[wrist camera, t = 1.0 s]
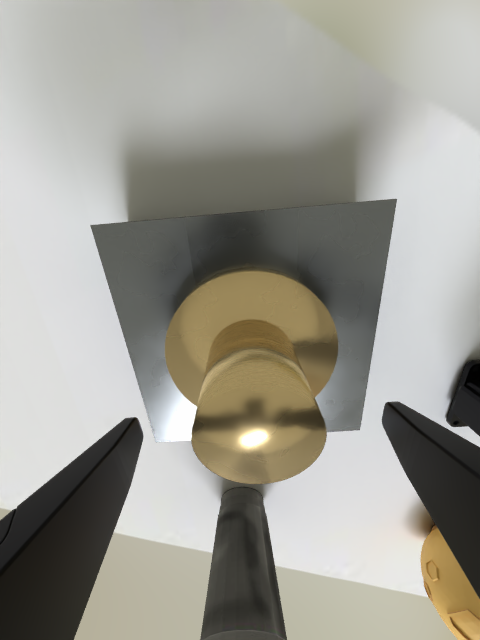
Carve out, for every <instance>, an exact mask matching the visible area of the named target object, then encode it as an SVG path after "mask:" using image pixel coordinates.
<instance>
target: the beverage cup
mask: <svg viewBox="0 0 480 640" xmlns="http://www.w3.org/2000/svg"><path fill="white" fill-rule="evenodd" d="M200 640H287V637H286V632H285V625H284V619H283V613H282V607H281V601H280V595H279V589H278V583H277V577H276V572H275V564H274V558H273V552H272V546H271V540H270V534H269V528H268V522H267V516H266V513H265V508H264V505H263V497H262V495H261V494H260V493H259V492H258V491H256V490H254V489H252V488H246V487H238V488H233V489H231V490H229V491H227V492H226V493H225V494H224V495H223V496H222V499H221V506H220V511H219V515H218V521H217V528H216V535H215V542H214V549H213V556H212V563H211V570H210V577H209V584H208V591H207V598H206V605H205V611H204V618H203V625H202V632H201V639H200Z"/></svg>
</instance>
